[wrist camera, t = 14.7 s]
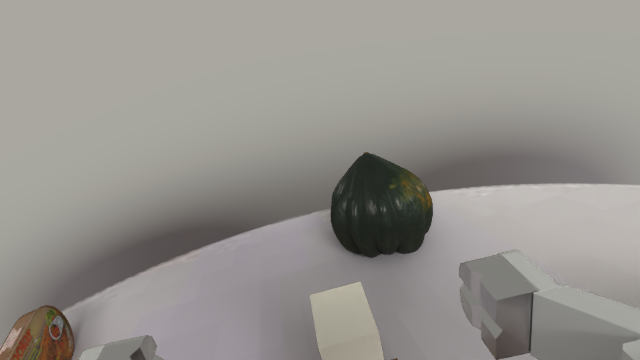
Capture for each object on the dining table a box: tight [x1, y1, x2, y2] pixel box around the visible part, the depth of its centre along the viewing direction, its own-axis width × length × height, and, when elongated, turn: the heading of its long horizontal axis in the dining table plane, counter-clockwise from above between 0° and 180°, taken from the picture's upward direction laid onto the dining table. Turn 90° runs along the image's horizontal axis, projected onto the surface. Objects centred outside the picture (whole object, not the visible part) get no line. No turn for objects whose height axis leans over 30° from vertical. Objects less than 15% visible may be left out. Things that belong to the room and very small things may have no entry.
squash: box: [331, 152, 433, 257], centre depth 57 cm, size 14×15×15 cm
